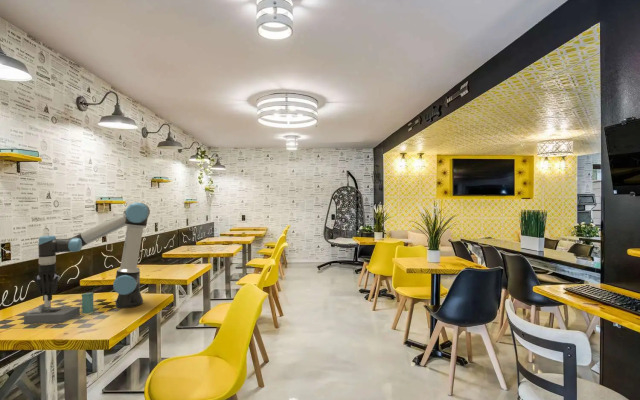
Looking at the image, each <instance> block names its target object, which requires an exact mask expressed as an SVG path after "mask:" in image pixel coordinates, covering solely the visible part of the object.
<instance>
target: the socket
mask: <svg viewBox="0 0 640 400" xmlns="http://www.w3.org/2000/svg"><path fill="white" fill-rule="evenodd" d="M80 314H81V306H60V307H59V306H58V307H55V306H54V307H51V309H49V310H46V311H44V312H42V313H26V314H24V315H23V324H24V325H31V324H32V325H37V324H38V325H39V324H41V325H43V324H64V323H66V322H67V321H70V320H72V319H74V318H76V317H79V316H80Z"/></svg>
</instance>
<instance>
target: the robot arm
mask: <svg viewBox="0 0 640 400" xmlns="http://www.w3.org/2000/svg"><path fill="white" fill-rule="evenodd" d="M150 212H151V210H150V208H149V206H148V205H147V204H145V203H143V202H133V203H131V204H129V205H128V206H127V207H126V210H124V211H123V213H121V214H119V215H117V216H114V217H113V218H110V219H109V220H107V221H104V222H102V223H100V224H98V225H96V226H94V227H91V228H89V229H87V230H85V231H83V232H81V233H79V234H77V235H74V236H72V237H68V238H57V237H56V235H43V236H42V235H41V236H40V237H39V238H38V275H37V276H34V277H33V280H34V281H35V283H36V288H37V291H38V294H39V295H42V301H43V302H44V303H43V304H44V307H49V306H52V305H51V304H52V302H51V301H52V300H53V294H56V293H57V289H58V285H59V282H60V279H61V275H57V272H56V270H57V264H56V262H57V260H56V259H57V254H58V253H75V252H80V251H81V250H82V248H83V247H85V246H86V245H89V244H91V243H93V242H96V241H97V240H99V239H101V238H103V237H106V236H108V235H109V234H111V233H113V232H116V231H118V230H119V229H122V228H124V227H126V233H125V238H124V245H123V249H122V250H123V251H122V254H121V255H122V256H121V262H120V266H119V268H117V269H116V274H115V279H114V281H113V284H112V285H113V286H112V287H113V288H112V289H113V290H114V292H116V294H118V295H117V298H116V300H115V308H118V309H128V308H134V307H138V305H139V306H141V305H143V304H144V298H143V296H142V294H141V287H140V286H141V284H140V283H141V282H140V281H141V280H140V278H141V277H140V276H141V275H140V273H141V271H140V268H139V267H138V263H139V262H138V261H139V256H140V249H141V244H142V239H143V232H144V228H146V227H147V226H148V225H147V224H148V218H149V216H150ZM56 253H57V254H56ZM142 303H143V304H142ZM140 304H141V305H140Z"/></svg>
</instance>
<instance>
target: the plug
mask: <svg viewBox="0 0 640 400" xmlns="http://www.w3.org/2000/svg"><path fill="white" fill-rule="evenodd" d="M94 295H95V293H94V292H85V293H82V294H81V305H82V306H81V313H82V314H90V313H92V312H93V313H94Z"/></svg>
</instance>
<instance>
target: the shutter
mask: <svg viewBox="0 0 640 400" xmlns="http://www.w3.org/2000/svg"><path fill="white" fill-rule="evenodd" d="M51 306H52V305H51ZM51 306H49V307H44V303H42V304H40V305H39V306H38V307H34V308H32V309H29V310H28V311H26V314H29V313H42V312H44V311H46V310H49V309H51Z"/></svg>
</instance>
